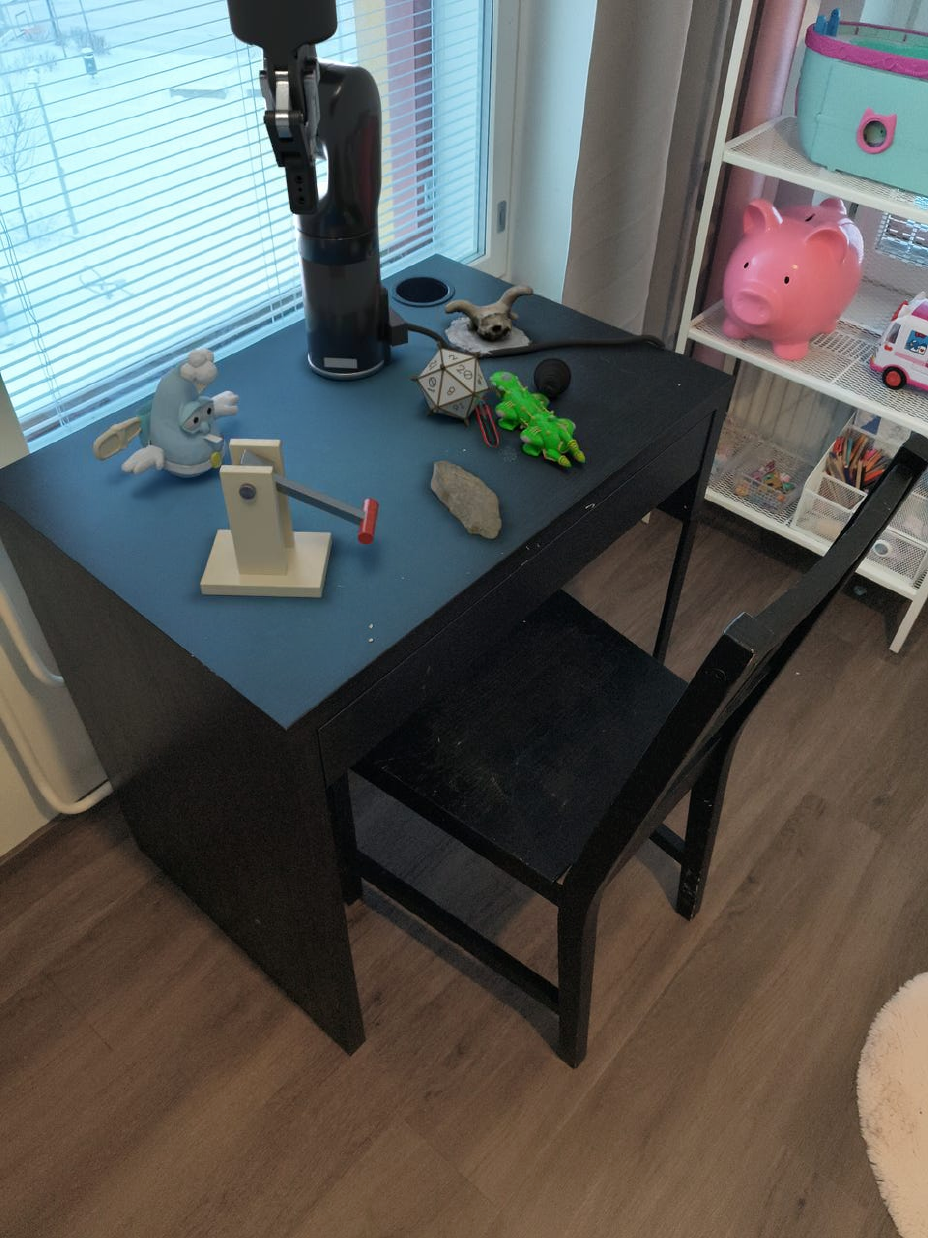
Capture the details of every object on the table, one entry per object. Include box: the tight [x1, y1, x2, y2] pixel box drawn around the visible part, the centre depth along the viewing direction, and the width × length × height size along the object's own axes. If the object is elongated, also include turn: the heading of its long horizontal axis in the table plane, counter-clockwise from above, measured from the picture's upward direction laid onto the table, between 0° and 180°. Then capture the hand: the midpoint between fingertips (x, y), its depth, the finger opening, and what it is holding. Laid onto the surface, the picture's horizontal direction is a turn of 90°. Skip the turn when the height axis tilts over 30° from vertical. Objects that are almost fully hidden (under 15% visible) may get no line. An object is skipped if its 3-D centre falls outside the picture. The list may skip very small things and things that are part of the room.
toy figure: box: [92, 348, 240, 479], centre depth 100 cm, size 17×10×15 cm, turn 151°
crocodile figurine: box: [489, 371, 586, 468], centre depth 110 cm, size 7×18×4 cm, turn 27°
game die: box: [409, 341, 496, 427], centre depth 111 cm, size 9×8×10 cm
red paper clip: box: [474, 394, 500, 448], centre depth 114 cm, size 2×14×1 cm, turn 10°
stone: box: [430, 460, 502, 540], centre depth 102 cm, size 13×3×5 cm
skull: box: [443, 284, 534, 358], centre depth 125 cm, size 10×12×6 cm
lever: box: [238, 449, 380, 546], centre depth 88 cm, size 13×5×2 cm, turn 88°
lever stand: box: [200, 438, 333, 598], centre depth 90 cm, size 11×8×13 cm
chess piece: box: [533, 357, 572, 398], centre depth 112 cm, size 4×4×10 cm
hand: (305, 210), depth 80 cm, fingers closed
